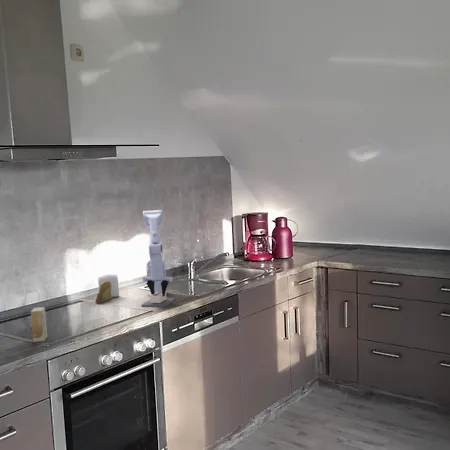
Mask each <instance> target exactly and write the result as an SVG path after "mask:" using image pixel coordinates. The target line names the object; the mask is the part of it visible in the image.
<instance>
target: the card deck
mask: <svg viewBox="0 0 450 450" xmlns="http://www.w3.org/2000/svg"><path fill="white" fill-rule="evenodd" d="M167 298H168V297H167V293H166V292H165V296H162V292H156V293H154V294H152V295H150V296H149V300H150V303H161V302H163V301H164V300H166V299H167Z"/></svg>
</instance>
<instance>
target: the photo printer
mask: <svg viewBox="0 0 450 450" xmlns="http://www.w3.org/2000/svg"><path fill="white" fill-rule="evenodd" d="M97 281H98V282H97V283H98V291H99V290H100V286H101V285H102V284H104V283H105V282H108V281H110V283H111V298H116V297H119V296H120V289H119V277H118V274H116V273H105V274H101V275H99V276H98V279H97Z"/></svg>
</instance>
